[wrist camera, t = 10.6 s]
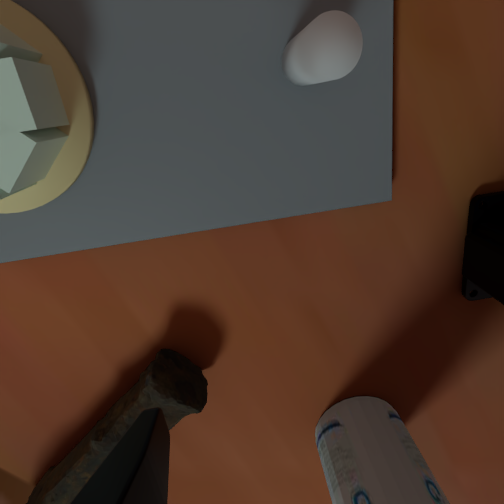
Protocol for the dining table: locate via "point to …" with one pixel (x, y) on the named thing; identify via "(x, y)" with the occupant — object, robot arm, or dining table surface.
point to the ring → (27, 115)
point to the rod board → (203, 116)
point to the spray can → (372, 456)
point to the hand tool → (126, 423)
